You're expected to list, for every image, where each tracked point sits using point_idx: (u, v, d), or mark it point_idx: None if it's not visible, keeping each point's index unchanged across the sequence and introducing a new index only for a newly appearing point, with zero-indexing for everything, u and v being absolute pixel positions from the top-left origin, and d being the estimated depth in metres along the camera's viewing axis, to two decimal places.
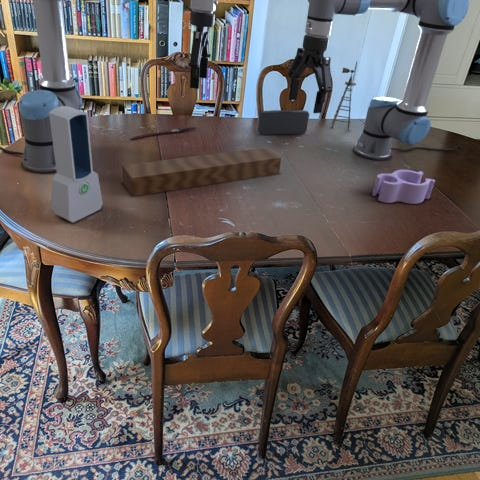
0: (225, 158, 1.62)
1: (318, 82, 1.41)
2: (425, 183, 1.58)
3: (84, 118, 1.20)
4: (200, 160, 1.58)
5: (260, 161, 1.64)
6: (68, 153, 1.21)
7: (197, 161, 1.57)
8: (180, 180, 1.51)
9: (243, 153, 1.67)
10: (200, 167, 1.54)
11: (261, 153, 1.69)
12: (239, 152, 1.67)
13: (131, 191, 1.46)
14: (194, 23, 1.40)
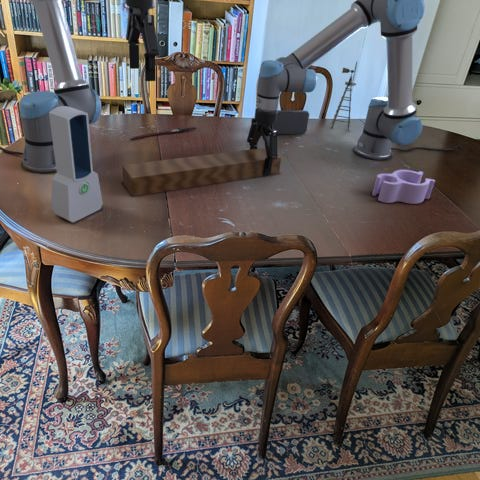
0: (225, 158, 1.62)
1: (266, 150, 1.62)
2: (425, 183, 1.58)
3: (84, 118, 1.20)
4: (200, 160, 1.58)
5: (260, 161, 1.64)
6: (68, 153, 1.21)
7: (197, 161, 1.57)
8: (180, 180, 1.51)
9: (243, 153, 1.67)
10: (200, 167, 1.54)
11: (261, 153, 1.69)
12: (239, 152, 1.67)
13: (131, 191, 1.46)
14: (138, 5, 1.20)
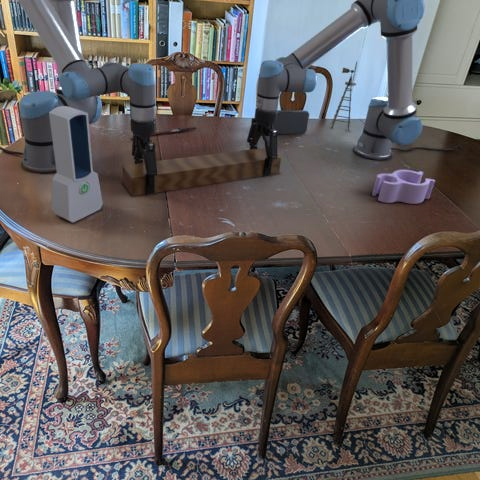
0: (225, 158, 1.62)
1: (266, 150, 1.62)
2: (425, 183, 1.58)
3: (84, 118, 1.20)
4: (200, 160, 1.58)
5: (260, 161, 1.64)
6: (68, 153, 1.21)
7: (197, 161, 1.57)
8: (180, 180, 1.51)
9: (243, 153, 1.67)
10: (200, 167, 1.54)
11: (261, 153, 1.69)
12: (239, 152, 1.67)
13: (131, 191, 1.46)
14: (141, 133, 1.38)
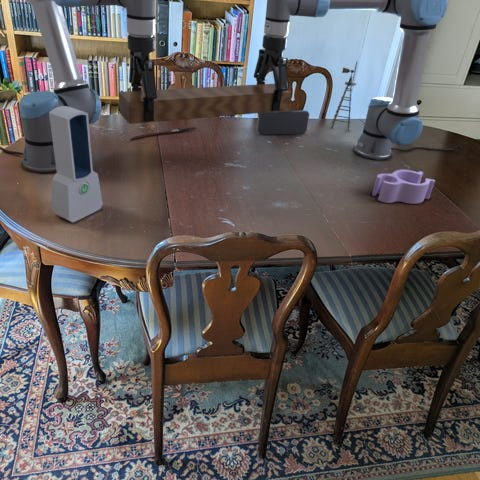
0: (230, 90, 1.49)
1: (275, 81, 1.50)
2: (425, 183, 1.58)
3: (84, 118, 1.20)
4: (204, 91, 1.46)
5: (268, 94, 1.51)
6: (68, 153, 1.21)
7: (200, 92, 1.45)
8: (181, 109, 1.39)
9: (250, 87, 1.55)
10: (203, 96, 1.41)
11: (270, 88, 1.56)
12: (245, 86, 1.55)
13: (128, 118, 1.34)
14: (139, 50, 1.26)
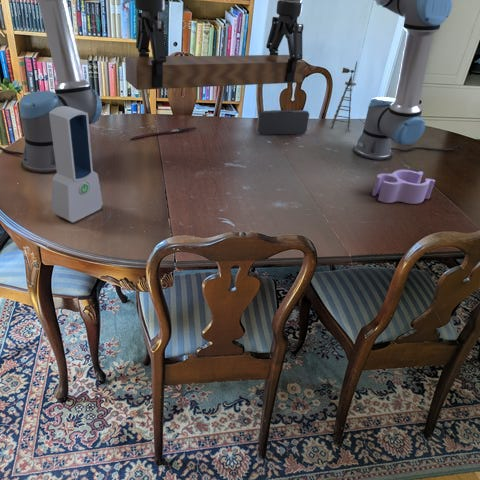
0: (242, 59, 1.41)
1: (289, 50, 1.42)
2: (425, 183, 1.58)
3: (84, 118, 1.20)
4: (215, 58, 1.38)
5: (282, 63, 1.43)
6: (68, 153, 1.21)
7: (211, 59, 1.37)
8: (191, 75, 1.31)
9: (262, 57, 1.47)
10: (215, 63, 1.33)
11: (283, 58, 1.48)
12: (257, 56, 1.47)
13: (135, 84, 1.26)
14: (148, 9, 1.18)
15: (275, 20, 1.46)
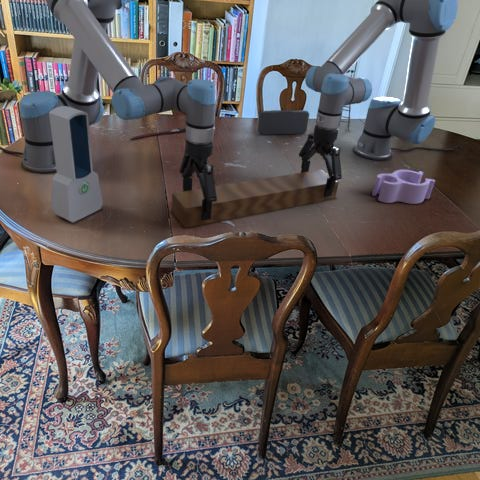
0: (280, 183, 1.49)
1: (328, 170, 1.47)
2: (425, 183, 1.58)
3: (84, 118, 1.20)
4: (254, 186, 1.46)
5: (317, 186, 1.51)
6: (68, 153, 1.21)
7: (251, 188, 1.44)
8: (234, 208, 1.39)
9: (298, 177, 1.54)
10: (256, 194, 1.41)
11: (317, 177, 1.56)
12: (293, 176, 1.54)
13: (183, 222, 1.33)
14: (198, 156, 1.25)
15: (311, 137, 1.53)
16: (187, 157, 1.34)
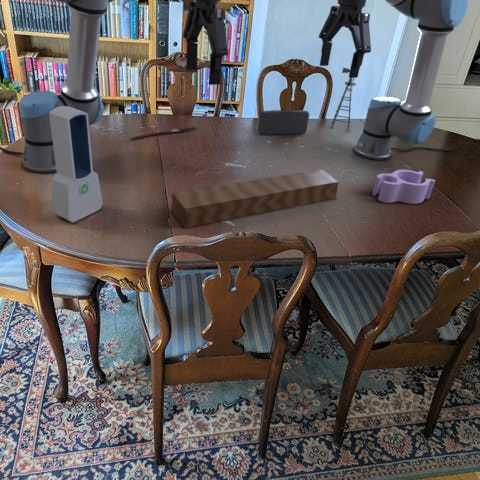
0: (280, 183, 1.49)
1: (355, 42, 1.27)
2: (425, 183, 1.58)
3: (84, 118, 1.20)
4: (254, 186, 1.46)
5: (317, 186, 1.51)
6: (68, 153, 1.21)
7: (251, 188, 1.44)
8: (234, 208, 1.39)
9: (298, 177, 1.54)
10: (256, 194, 1.41)
11: (317, 177, 1.56)
12: (293, 176, 1.54)
13: (183, 222, 1.33)
14: None
15: (334, 10, 1.32)
16: (192, 12, 1.14)
